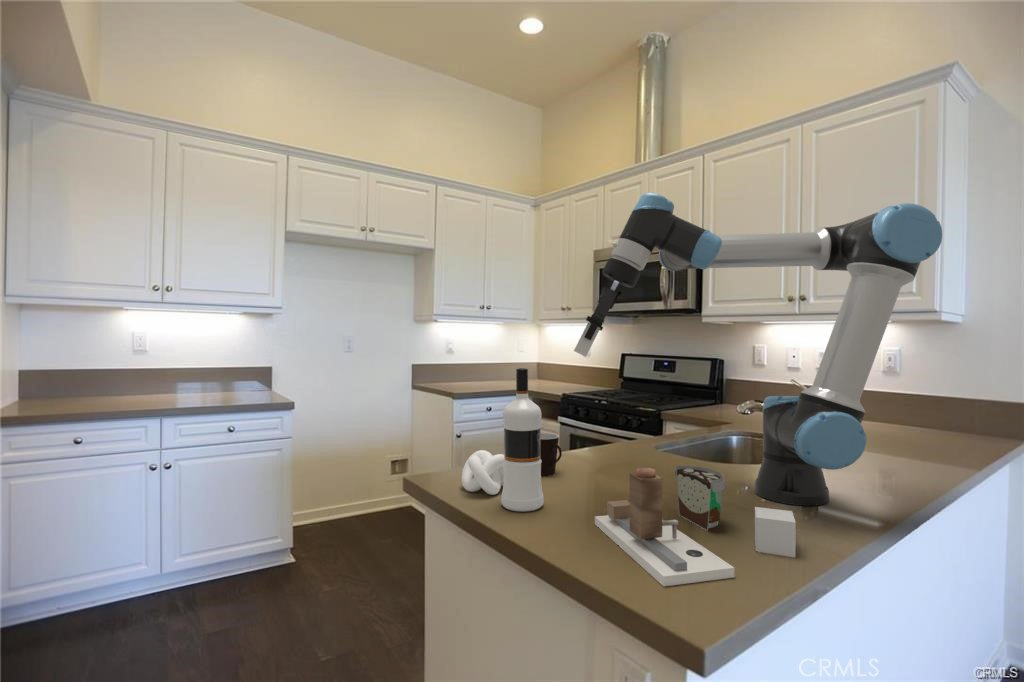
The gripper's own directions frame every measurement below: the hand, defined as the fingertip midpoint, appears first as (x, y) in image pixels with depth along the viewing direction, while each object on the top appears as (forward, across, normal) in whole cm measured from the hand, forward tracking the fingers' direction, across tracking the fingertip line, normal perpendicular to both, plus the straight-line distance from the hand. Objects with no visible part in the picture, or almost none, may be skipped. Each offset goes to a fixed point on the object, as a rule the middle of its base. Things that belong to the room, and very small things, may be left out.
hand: (580, 353), depth 111 cm
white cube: (+15, +16, +45) cm, 50 cm away
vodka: (+35, 0, +4) cm, 36 cm away
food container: (+19, +5, +37) cm, 42 cm away
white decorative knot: (+40, -10, -5) cm, 41 cm away
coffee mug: (+34, -26, +6) cm, 43 cm away
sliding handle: (+22, +20, +26) cm, 40 cm away
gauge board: (+24, +19, +27) cm, 41 cm away
